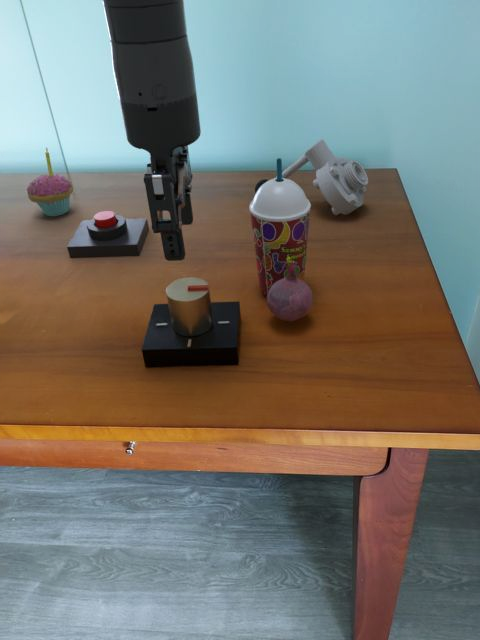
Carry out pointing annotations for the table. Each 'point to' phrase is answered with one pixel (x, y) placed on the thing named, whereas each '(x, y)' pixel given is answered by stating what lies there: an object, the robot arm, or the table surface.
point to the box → (109, 239)
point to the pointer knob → (190, 306)
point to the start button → (105, 219)
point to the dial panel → (193, 339)
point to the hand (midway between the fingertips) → (180, 240)
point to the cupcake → (51, 192)
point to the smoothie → (279, 229)
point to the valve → (332, 178)
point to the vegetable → (290, 296)
